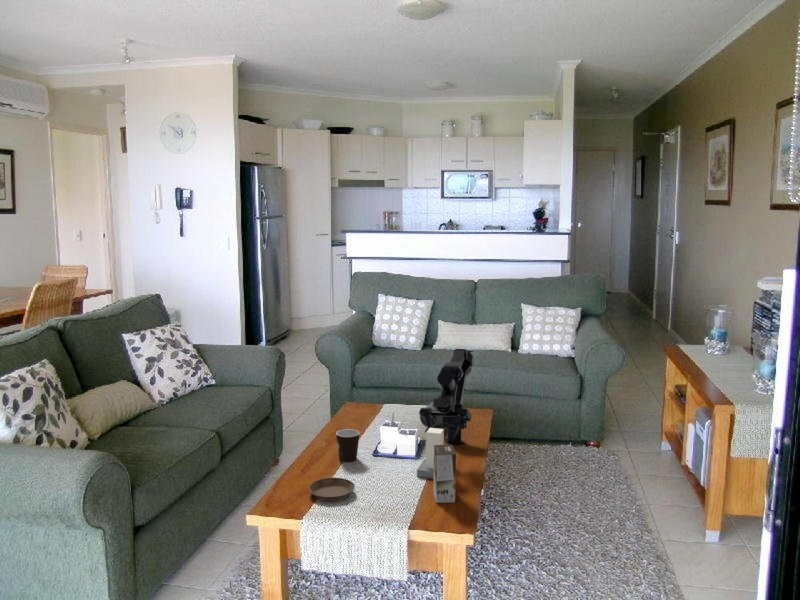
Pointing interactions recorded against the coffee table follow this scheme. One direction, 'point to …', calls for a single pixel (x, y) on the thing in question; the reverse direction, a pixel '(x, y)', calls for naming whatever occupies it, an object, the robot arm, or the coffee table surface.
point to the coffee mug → (347, 444)
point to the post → (433, 438)
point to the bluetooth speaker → (437, 419)
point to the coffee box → (444, 473)
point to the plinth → (425, 471)
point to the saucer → (331, 489)
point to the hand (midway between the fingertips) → (441, 436)
